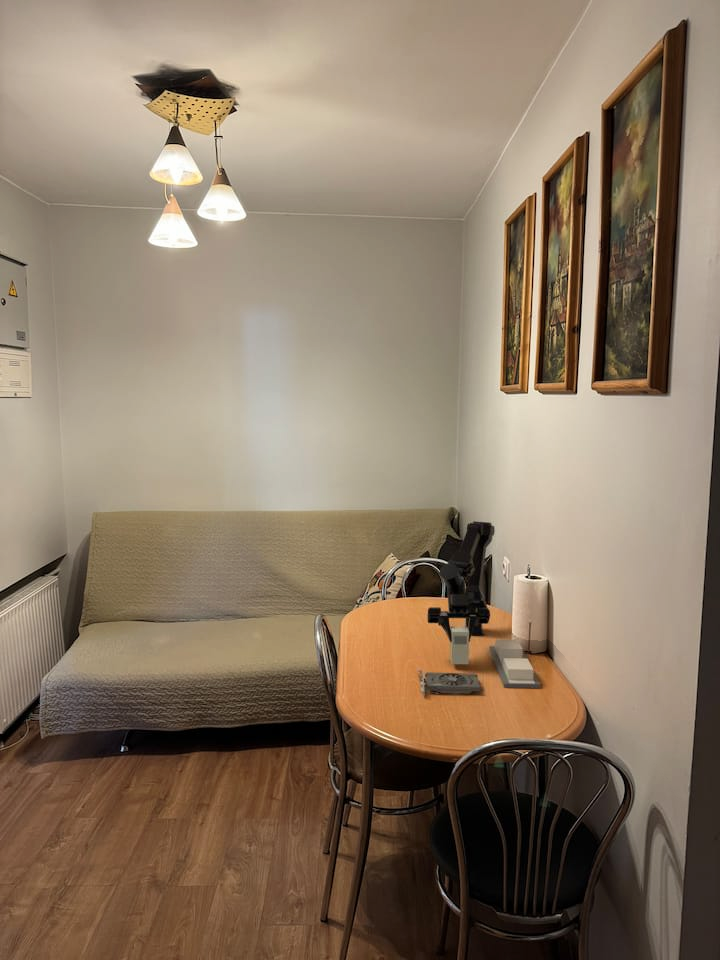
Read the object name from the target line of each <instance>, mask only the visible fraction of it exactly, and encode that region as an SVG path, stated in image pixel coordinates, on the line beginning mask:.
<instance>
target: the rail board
mask: <svg viewBox="0 0 720 960" xmlns="http://www.w3.org/2000/svg"><path fill="white" fill-rule="evenodd" d="M488 650H489V652H490V655H491V658H492V660H493V663H494V666H495V668H496V671H497V673H498V676H499V679H500V680H501V683H502V685H503V686H502V687H503V688H504V689H505V688H510V689H512V688H513V689H541V682H540V680H539V679H538V677H537V675H536V673H535V670H534V668H533V666H532V664H531V662H530V661H529V659H528V658H527V656H526V654H525V653H524V650H523V648H522V645H521V643H520V642H519V640H518V639H511V638H509V639H507V638H505V639H503V638H499V639H498V638H495V639H494V645H491V646H490V645H489V646H488Z"/></svg>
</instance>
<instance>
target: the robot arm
mask: <svg viewBox="0 0 720 960" xmlns="http://www.w3.org/2000/svg"><path fill="white" fill-rule="evenodd" d="M495 532H496V530H495V526H494V525H492V522H488V521H487V522H486V521H473V522H470V523H467V525H466V532H465V535H464V537H463V539H462V543H461V545H460V548H459V550H458V552H456V553H454V554H453V555H452V557H451V559H450V560H448V562H447V563H445V564H444V565H442V566H441V567H440V570H439V575H440V577H441V579H442V581H443V583H444V585H445V586H446V587H447V604H448V605H447V607H448V611H446V610H442V607H438V606H437V607H433V606H430V607H428V608H427V615H426V616H427V623H428V624H437V625H438V626H439V627H441V628H442V629H443V631H444V632H445V634H446V636H447V638H448V640H449V642H450V643H451V642H452V635H451V626H450V625H451V623H450V619H465V626H464V627H468V630H469V643H470V642H471V639H472V636H484V635H485V632H484V629H483V624H484V625H488V624H489V622H490V618H491V610H490V609H489V607H488V605H487V603H486V601H485V600H486V598H485V594H484V592H483V590H482V584H483V578H484V577H483V576H484V569H485V560H486V552H487V547H488V546H489V545H490V544H491V543H492V542H493V537H494V536H495ZM464 578H465V579H468V584H467V586H466V581H465V579H464Z"/></svg>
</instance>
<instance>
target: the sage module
mask: <svg viewBox="0 0 720 960" xmlns="http://www.w3.org/2000/svg"><path fill="white" fill-rule="evenodd" d="M450 629H451V635H452V642H450V650H449V651H450V662H451V665H469V664H470V663H469V662H470V661H469V659H470V658H469V656H470V642H469V630H468V627H465V626H456V625H455V626H452V625H451V626H450Z"/></svg>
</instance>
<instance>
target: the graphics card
mask: <svg viewBox="0 0 720 960" xmlns="http://www.w3.org/2000/svg"><path fill="white" fill-rule="evenodd" d="M424 674H425V675H424ZM478 676H479V675H478V673H465V672H464V673H463V672H460V673H458V672H429V671H427V672H425V673H424V672H423V670H422V669H419V670H418V679H420V680H419V681H421V682H420V692H421V693H422V694H421V695H423V697H425V694H426V695H427V692H428V693H429V694H431V693H434V694H435V695H439V693H440V694H471V693H472V692H481V691H482V686H481V683H480V682H481V681H480V679H479V678H478ZM424 677H425V678H424ZM421 679H422V680H421ZM424 683H426V685H424ZM425 687H426V689H425ZM429 691H431V692H429ZM432 691H435V692H432ZM423 692H424V693H423Z"/></svg>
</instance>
